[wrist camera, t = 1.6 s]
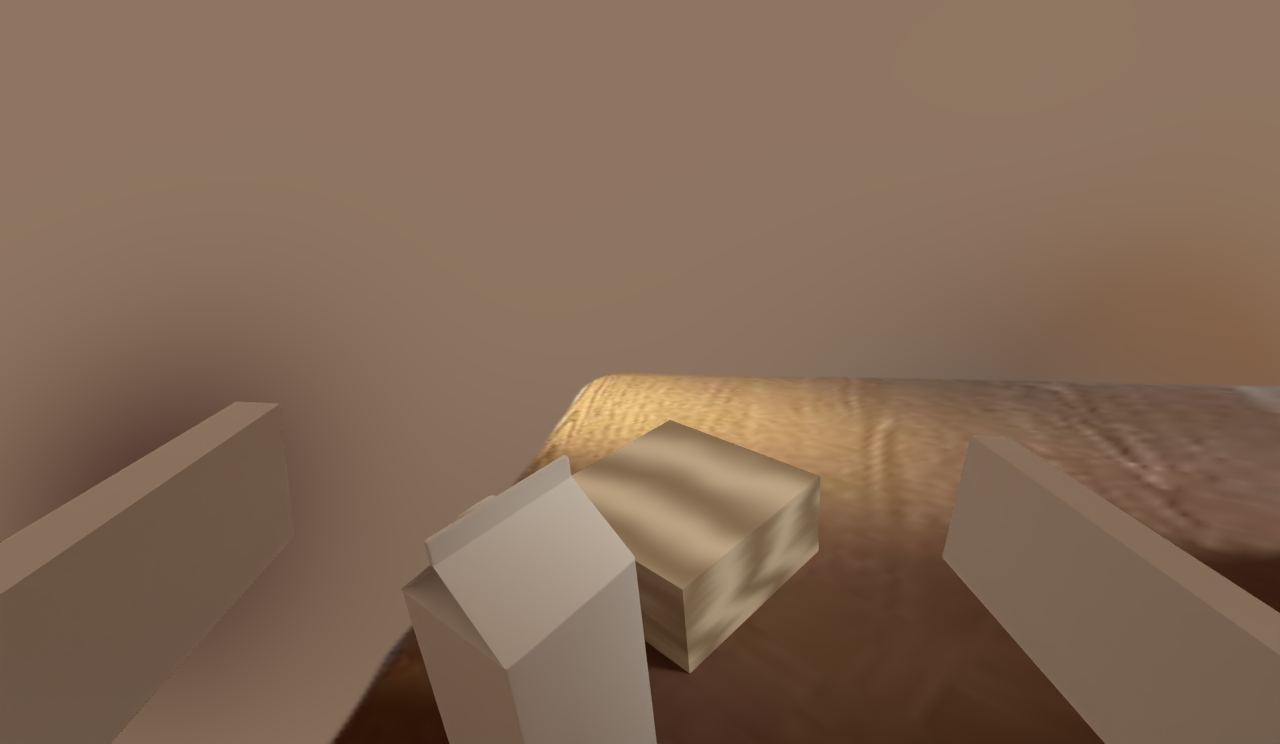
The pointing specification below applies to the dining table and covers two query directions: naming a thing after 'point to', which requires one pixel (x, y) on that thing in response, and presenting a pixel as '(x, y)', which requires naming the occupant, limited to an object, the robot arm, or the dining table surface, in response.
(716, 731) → the dining table surface
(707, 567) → the block
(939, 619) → the dining table surface
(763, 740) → the dining table surface
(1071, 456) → the dining table surface
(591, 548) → the milk carton
